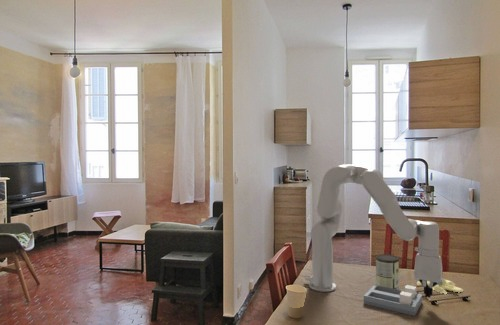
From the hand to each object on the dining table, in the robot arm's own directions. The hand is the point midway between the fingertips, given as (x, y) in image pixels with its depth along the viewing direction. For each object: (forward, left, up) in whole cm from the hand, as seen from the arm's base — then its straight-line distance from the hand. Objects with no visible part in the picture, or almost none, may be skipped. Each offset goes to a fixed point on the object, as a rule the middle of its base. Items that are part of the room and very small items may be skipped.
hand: (428, 296), depth 148 cm
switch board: (-13, -4, -5) cm, 14 cm away
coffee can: (-20, +14, -5) cm, 25 cm away
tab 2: (-7, -8, -3) cm, 11 cm away
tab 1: (-7, 0, -3) cm, 7 cm away
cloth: (+1, +27, -5) cm, 27 cm away
